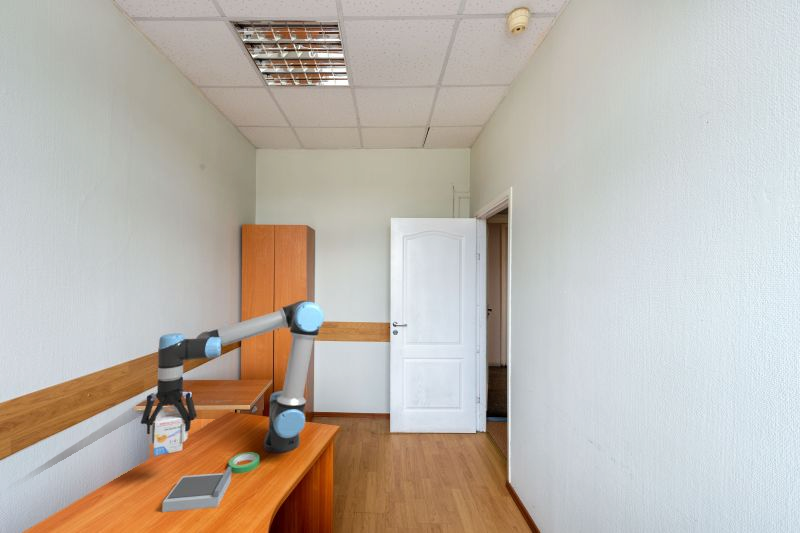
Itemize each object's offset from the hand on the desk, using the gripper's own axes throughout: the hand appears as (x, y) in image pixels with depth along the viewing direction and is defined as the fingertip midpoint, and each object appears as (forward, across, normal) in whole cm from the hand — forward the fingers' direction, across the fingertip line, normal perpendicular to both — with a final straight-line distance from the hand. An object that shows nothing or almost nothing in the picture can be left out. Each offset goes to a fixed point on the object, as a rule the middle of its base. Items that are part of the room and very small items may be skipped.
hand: (168, 441), depth 118 cm
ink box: (+3, 0, 0) cm, 3 cm away
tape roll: (+16, -23, -9) cm, 30 cm away
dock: (+15, -13, +8) cm, 22 cm away
